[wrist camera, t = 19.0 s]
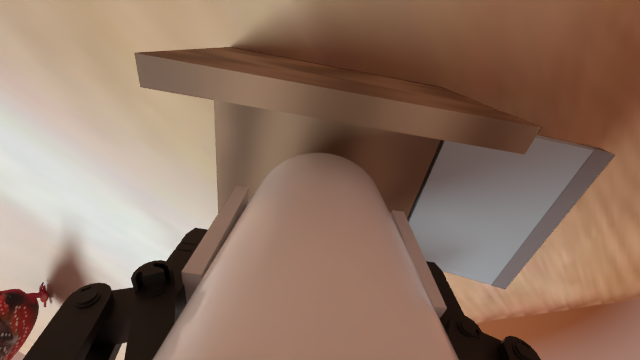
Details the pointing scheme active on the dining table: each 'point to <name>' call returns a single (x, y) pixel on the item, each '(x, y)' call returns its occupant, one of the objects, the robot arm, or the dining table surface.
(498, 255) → the pale grey panel
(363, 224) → the candle holder
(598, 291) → the dining table surface
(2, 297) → the decorative bird figurine
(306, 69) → the small wooden shelf
